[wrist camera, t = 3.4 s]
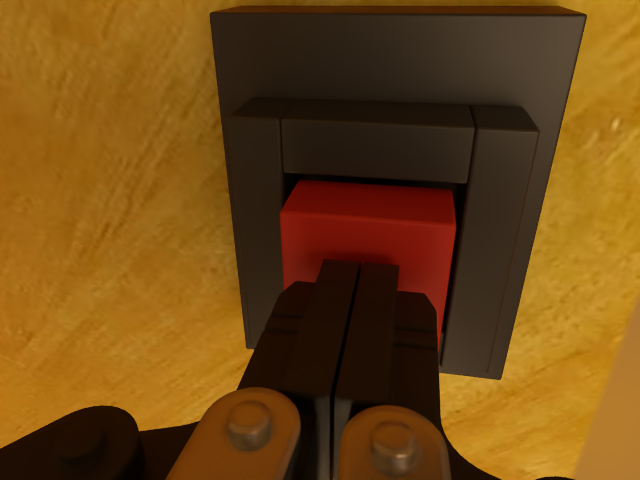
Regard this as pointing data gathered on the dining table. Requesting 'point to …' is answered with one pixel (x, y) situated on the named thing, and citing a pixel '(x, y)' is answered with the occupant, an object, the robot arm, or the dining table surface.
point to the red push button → (399, 137)
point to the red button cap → (371, 233)
